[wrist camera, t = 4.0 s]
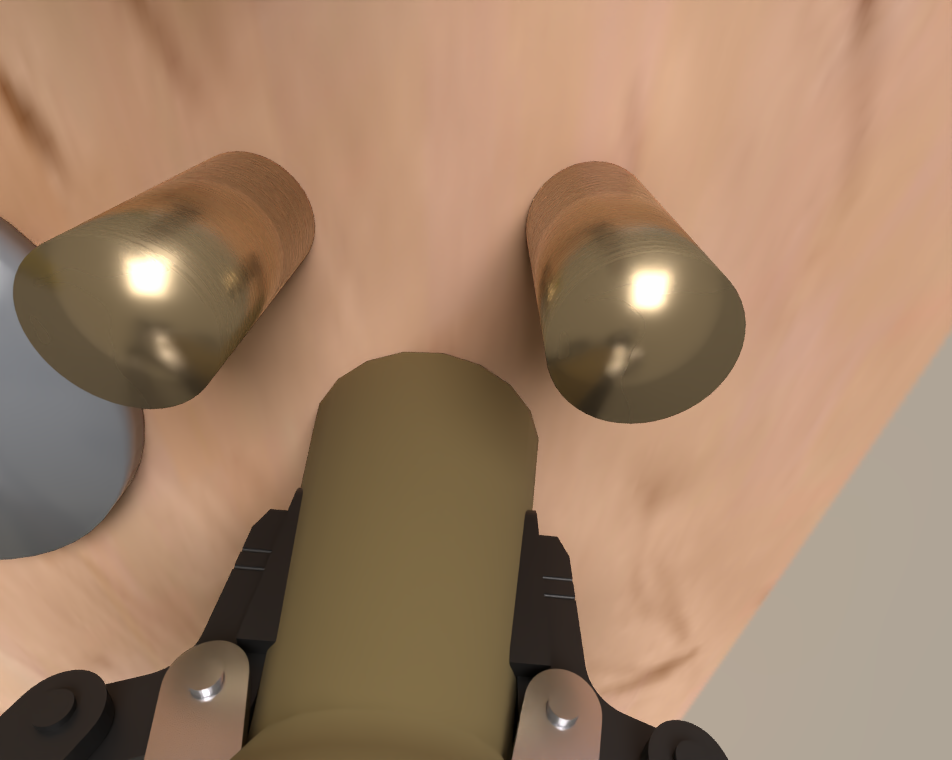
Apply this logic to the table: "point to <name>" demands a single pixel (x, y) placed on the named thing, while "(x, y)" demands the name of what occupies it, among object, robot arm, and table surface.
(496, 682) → the cork
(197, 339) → the cylinder
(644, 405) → the cylinder
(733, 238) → the table surface
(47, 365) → the slate coaster
